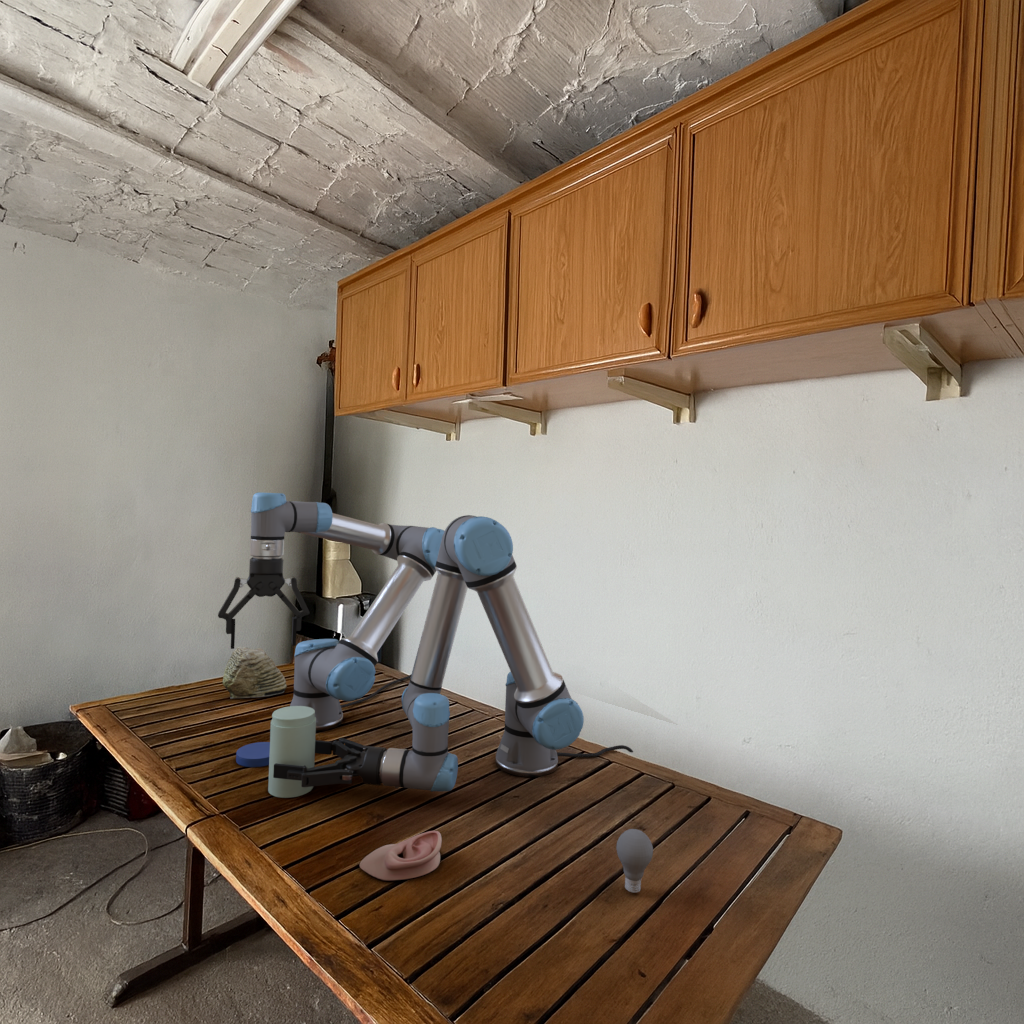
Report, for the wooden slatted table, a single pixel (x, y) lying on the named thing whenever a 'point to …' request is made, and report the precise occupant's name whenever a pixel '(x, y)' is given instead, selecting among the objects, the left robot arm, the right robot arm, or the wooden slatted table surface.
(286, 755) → the jar
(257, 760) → the lid
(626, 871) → the light bulb
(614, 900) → the wooden slatted table surface
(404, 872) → the anatomical model
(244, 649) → the fossil
